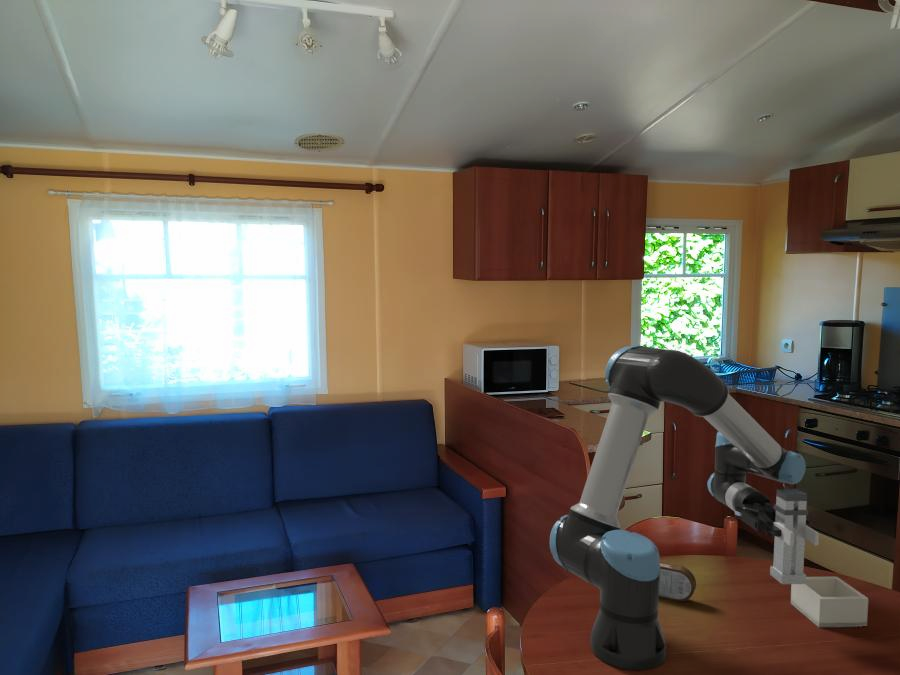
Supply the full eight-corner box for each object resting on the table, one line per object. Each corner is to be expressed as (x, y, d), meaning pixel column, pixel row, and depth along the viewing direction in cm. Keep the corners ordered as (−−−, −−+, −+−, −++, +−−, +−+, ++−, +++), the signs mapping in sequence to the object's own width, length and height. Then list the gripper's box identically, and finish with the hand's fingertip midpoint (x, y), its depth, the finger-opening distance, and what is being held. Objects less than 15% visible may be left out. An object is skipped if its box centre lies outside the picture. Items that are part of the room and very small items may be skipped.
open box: (818, 627, 143) (820, 599, 142) (790, 603, 154) (791, 577, 153) (866, 626, 143) (868, 598, 143) (835, 602, 154) (836, 576, 154)
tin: (695, 600, 155) (696, 566, 154) (694, 606, 152) (695, 572, 152) (632, 587, 162) (633, 554, 161) (629, 592, 159) (630, 559, 158)
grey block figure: (782, 584, 138) (786, 495, 136) (770, 574, 142) (773, 488, 141) (805, 584, 138) (810, 495, 136) (792, 574, 143) (797, 488, 141)
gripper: (782, 517, 158) (844, 556, 135) (712, 517, 157) (762, 557, 134) (784, 487, 157) (846, 521, 134) (713, 487, 157) (763, 522, 133)
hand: (804, 539), depth 134 cm, fingers closed on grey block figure, 5 cm apart
